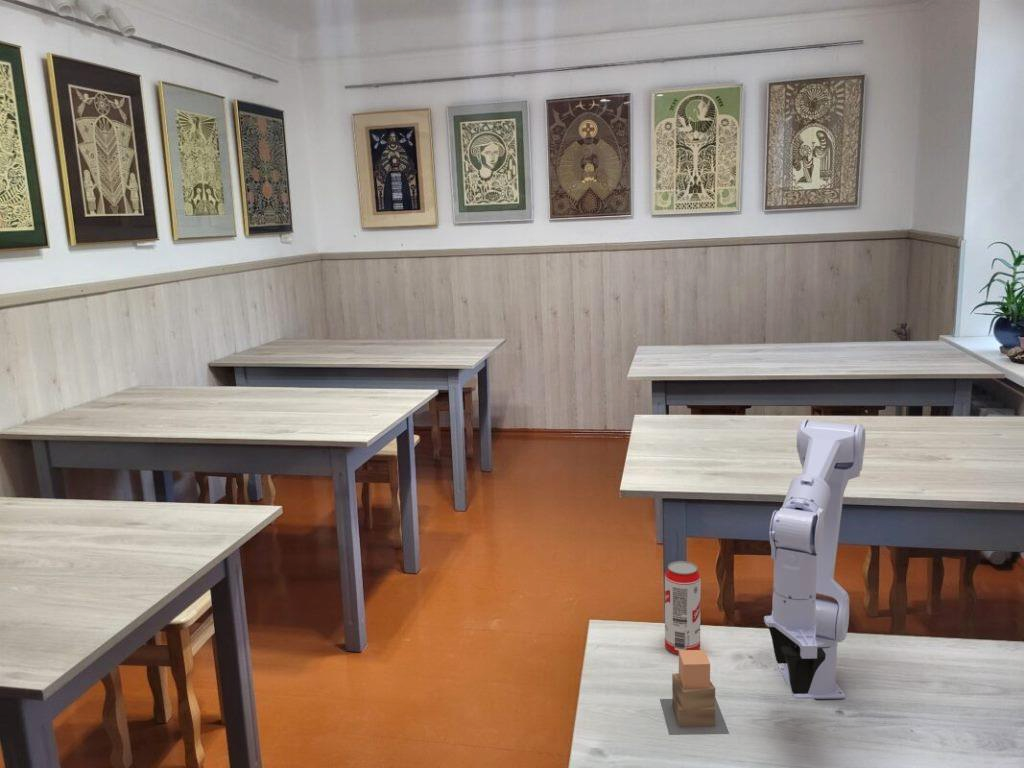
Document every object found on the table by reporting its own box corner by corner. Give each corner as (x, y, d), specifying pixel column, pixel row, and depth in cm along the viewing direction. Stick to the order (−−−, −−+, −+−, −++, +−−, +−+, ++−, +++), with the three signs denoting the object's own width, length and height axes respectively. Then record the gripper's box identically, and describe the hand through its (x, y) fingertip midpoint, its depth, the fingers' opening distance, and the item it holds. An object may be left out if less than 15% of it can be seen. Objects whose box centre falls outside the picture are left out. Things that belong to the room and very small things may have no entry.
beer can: (662, 656, 139) (662, 572, 136) (666, 638, 145) (666, 558, 142) (698, 660, 137) (699, 576, 134) (701, 642, 143) (701, 561, 140)
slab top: (672, 691, 123) (672, 673, 122) (702, 687, 124) (702, 670, 123) (683, 710, 118) (683, 692, 117) (715, 705, 119) (715, 688, 118)
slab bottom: (672, 705, 124) (672, 688, 124) (707, 704, 124) (707, 687, 123) (678, 727, 119) (678, 709, 118) (714, 726, 119) (715, 708, 118)
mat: (659, 701, 126) (659, 698, 126) (715, 700, 126) (715, 697, 126) (669, 736, 117) (669, 734, 117) (729, 735, 117) (729, 733, 117)
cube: (678, 673, 122) (678, 650, 121) (704, 673, 122) (704, 649, 121) (683, 688, 118) (683, 664, 118) (709, 687, 118) (710, 664, 117)
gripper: (753, 568, 118) (751, 650, 121) (780, 616, 104) (777, 707, 106) (800, 568, 117) (797, 649, 120) (834, 615, 103) (830, 706, 106)
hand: (791, 676), depth 113 cm, fingers open, 7 cm apart
